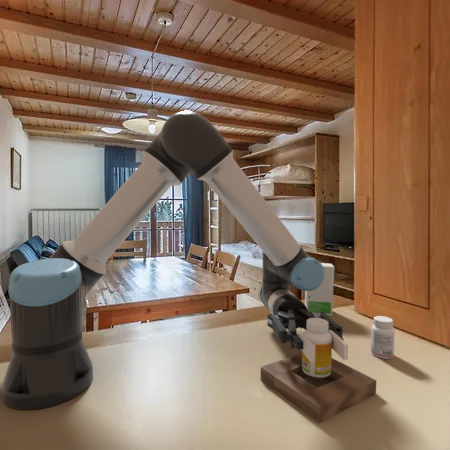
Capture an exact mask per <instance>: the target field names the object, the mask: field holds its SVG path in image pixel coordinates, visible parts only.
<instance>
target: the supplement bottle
mask: <svg viewBox="0 0 450 450" xmlns="http://www.w3.org/2000/svg"><path fill="white" fill-rule="evenodd" d="M306 327H307V329H306V330H305V329H304V331H302V333H303V334H304V335H305V336H306V337H307V338H308V339H309V341H310V342H311V343H312V344H313V345H314V346H315V359H314V362H310V361H309V360H308V358H307V357H306V356H305V355H304V353H303V352H302V351H301V353H302V370H303V371H304V372H305V373H306V374H307V375H308V376H310V377H313V378H319V379H320V378H321V379H322V378H323V377H327V376H329V375H330V373H331V358H333V356H332V352H333V349H332V336H331V334H330V333H329V332H327V331H328V321H327V320H324V319H321V318H309V319H307V323H306Z"/></svg>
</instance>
